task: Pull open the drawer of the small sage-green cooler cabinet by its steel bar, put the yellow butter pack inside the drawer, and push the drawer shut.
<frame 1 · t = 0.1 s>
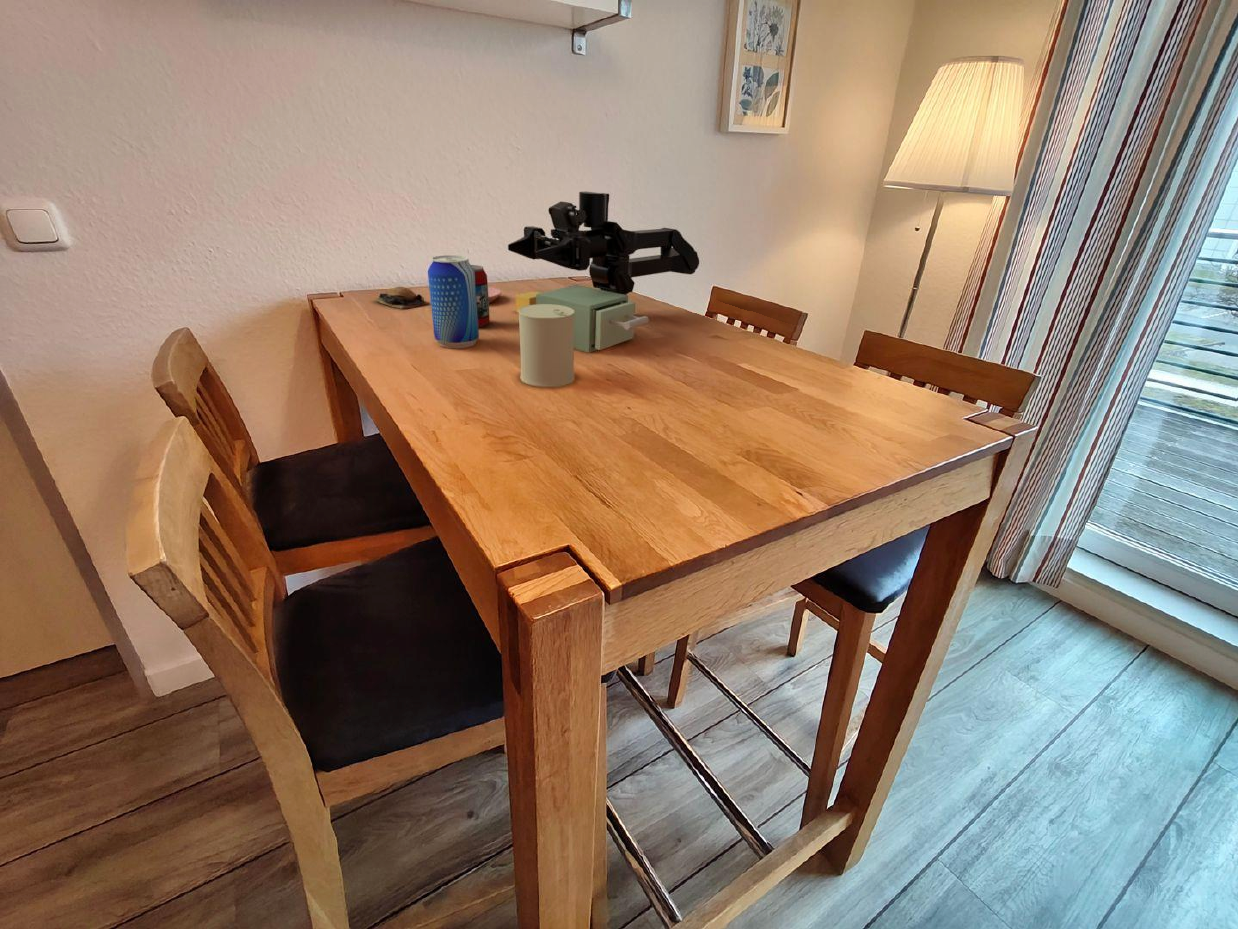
hand: (522, 250, 115), 17 cm above the table, tool horizontal, fingers open, 9 cm apart
can: (547, 379, 100), on the table
drawer: (602, 322, 117), point 5 cm above the table, slide at 1.0 cm
cabinet: (582, 339, 121), on the table
plate: (472, 300, 147), on the table
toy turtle: (401, 303, 141), on the table
beer can: (457, 344, 115), on the table
beverage can: (474, 325, 127), on the table
butter pack: (531, 311, 139), on the table
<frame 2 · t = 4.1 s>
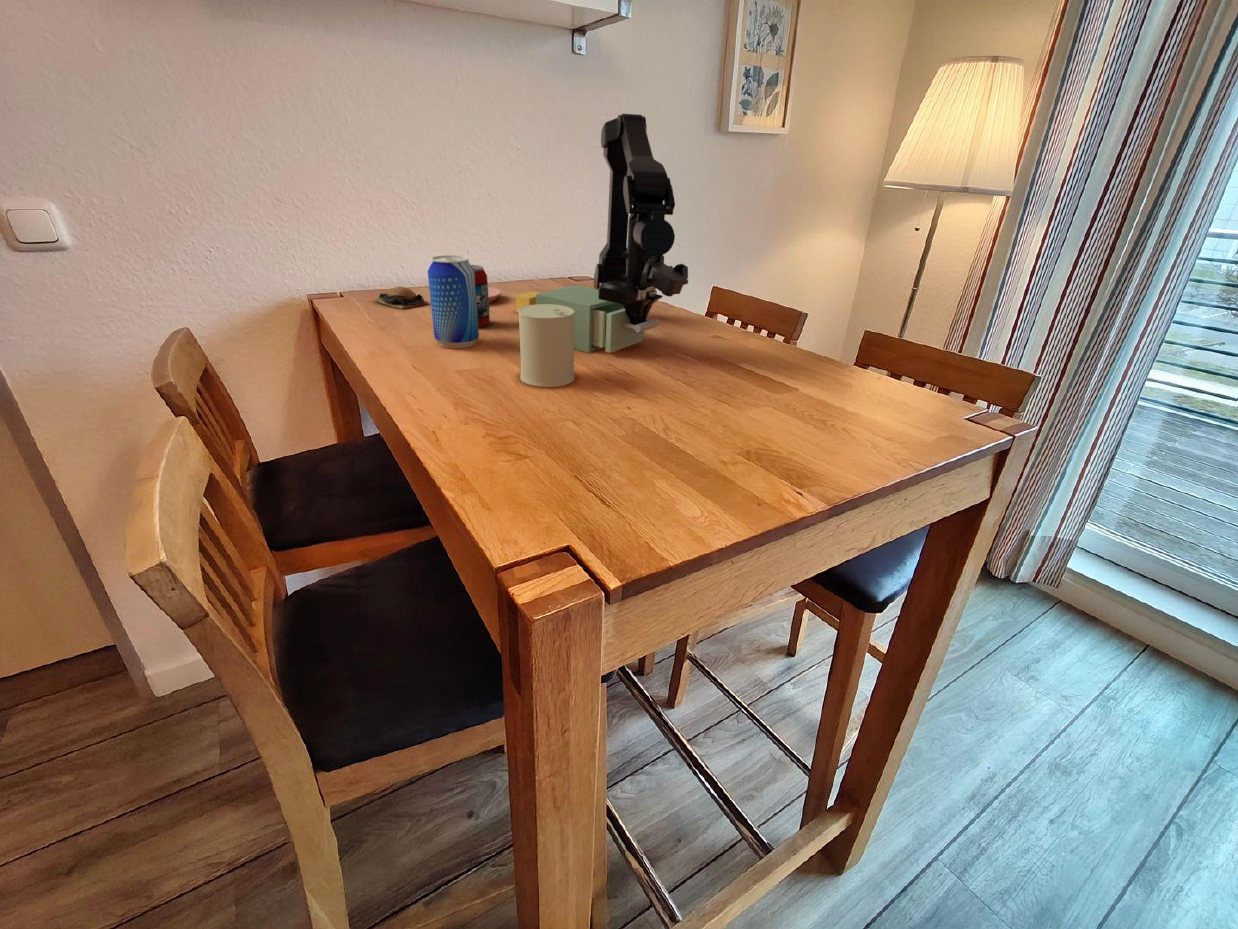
hand: (637, 332, 112), 4 cm above the table, tool pointing down, fingers closed, pressing on drawer
drawer: (612, 324, 115), point 5 cm above the table, slide at 3.5 cm, touching gripper
everything else where it was.
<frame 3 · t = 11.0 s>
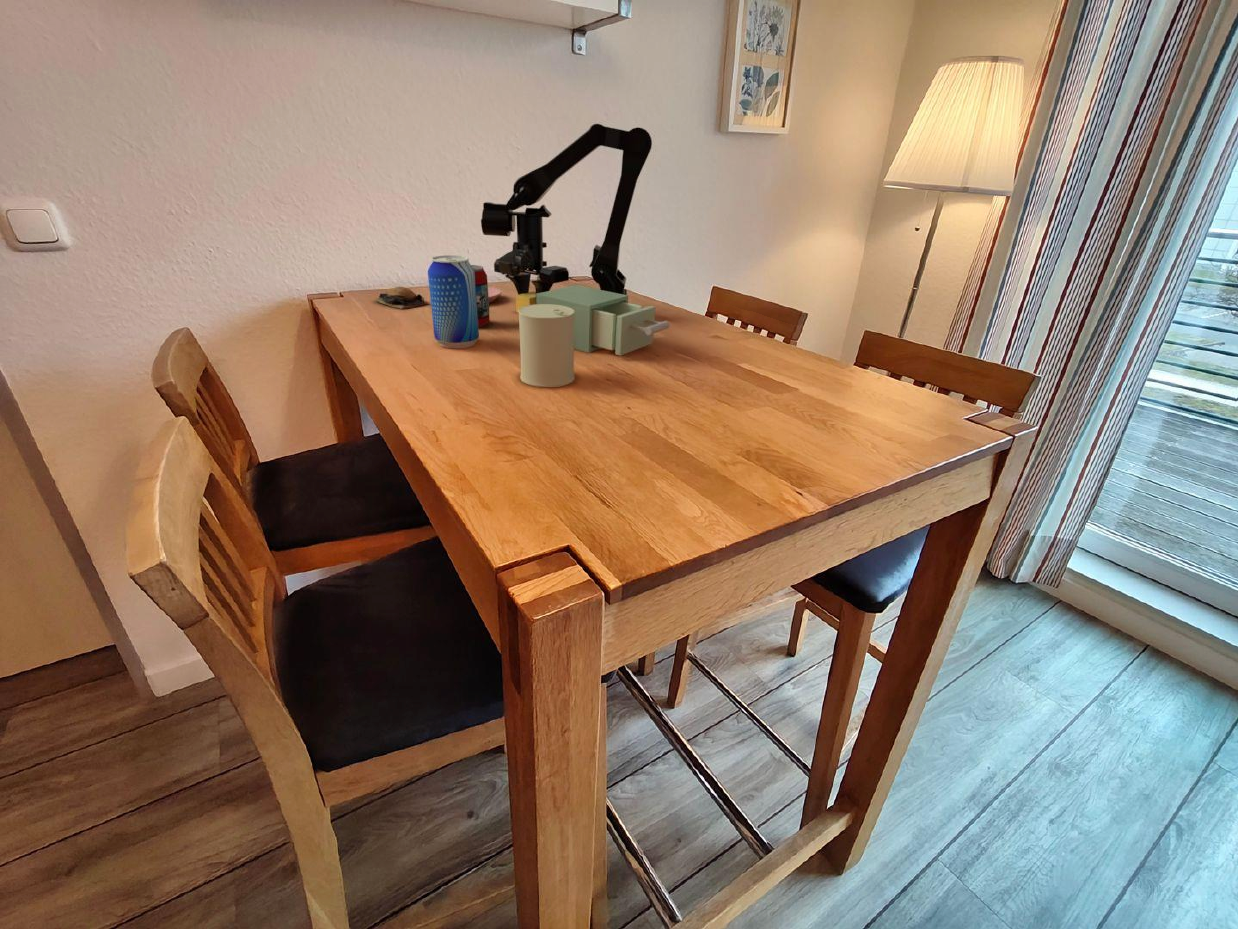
hand: (531, 307, 139), 1 cm above the table, tool pointing down, fingers closed on butter pack, 4 cm apart
drawer: (622, 326, 114), point 5 cm above the table, slide at 5.8 cm
butter pack: (531, 311, 139), on the table, touching gripper
everything else where it was.
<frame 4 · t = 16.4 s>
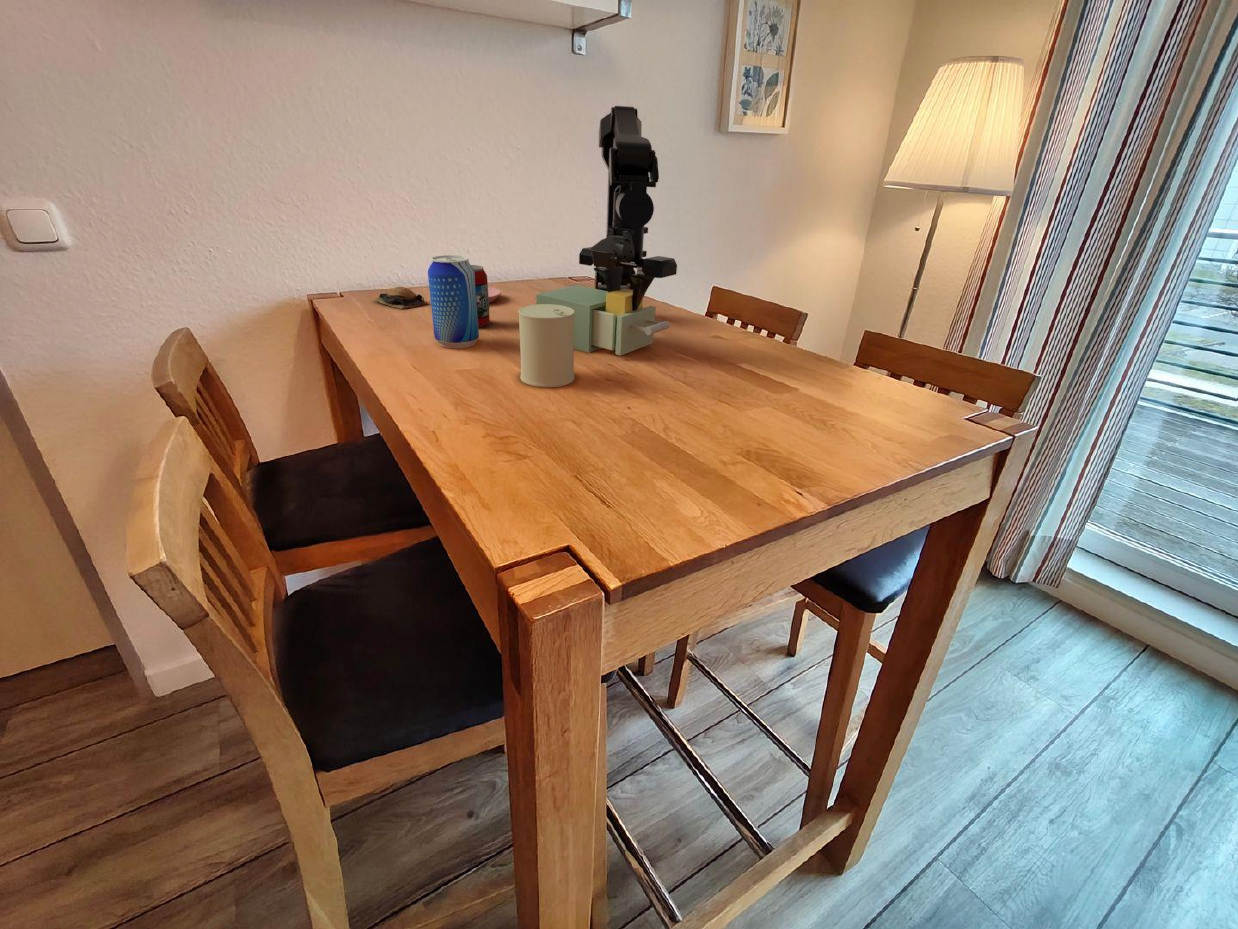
hand: (624, 308, 112), 8 cm above the table, tool pointing down, fingers closed on butter pack, 4 cm apart
drawer: (622, 326, 114), point 5 cm above the table, slide at 5.9 cm, touching gripper
butter pack: (623, 313, 113), point 7 cm above the table, touching gripper
everything else where it was.
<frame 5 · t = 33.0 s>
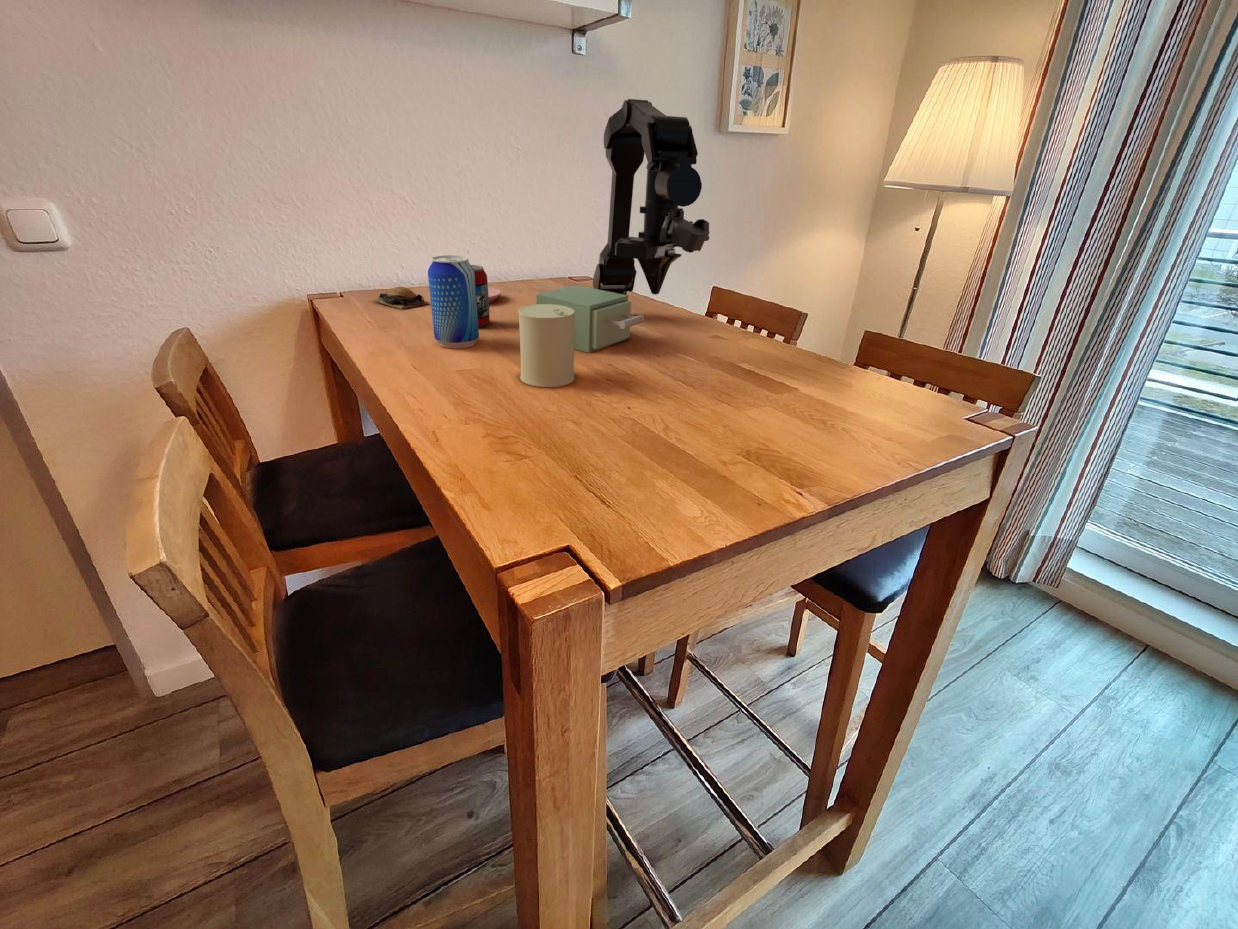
hand: (655, 293, 107), 12 cm above the table, tool pointing down, fingers closed
drawer: (598, 321, 117), point 5 cm above the table, slide at 0.0 cm, touching butter pack, cabinet
butter pack: (598, 333, 118), point 2 cm above the table, touching drawer
everything else where it was.
at the end: drawer pulled out 6.0 cm at the most during the clip, back to where it started at the end; butter pack inside the target area in the cabinet (4.3 cm from its centre), point 2.0 cm above the cabinet's base; drawer slide at 0.0 cm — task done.
